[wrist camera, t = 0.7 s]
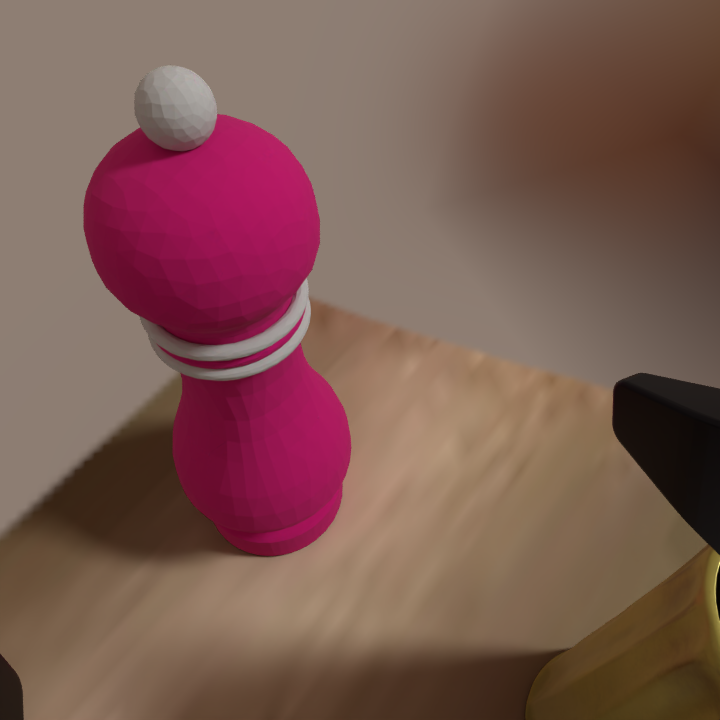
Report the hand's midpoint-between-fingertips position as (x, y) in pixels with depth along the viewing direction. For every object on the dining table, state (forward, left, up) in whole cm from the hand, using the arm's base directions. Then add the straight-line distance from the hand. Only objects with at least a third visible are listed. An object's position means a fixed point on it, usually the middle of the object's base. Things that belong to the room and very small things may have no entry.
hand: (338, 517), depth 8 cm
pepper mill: (+9, +4, -19) cm, 21 cm away
